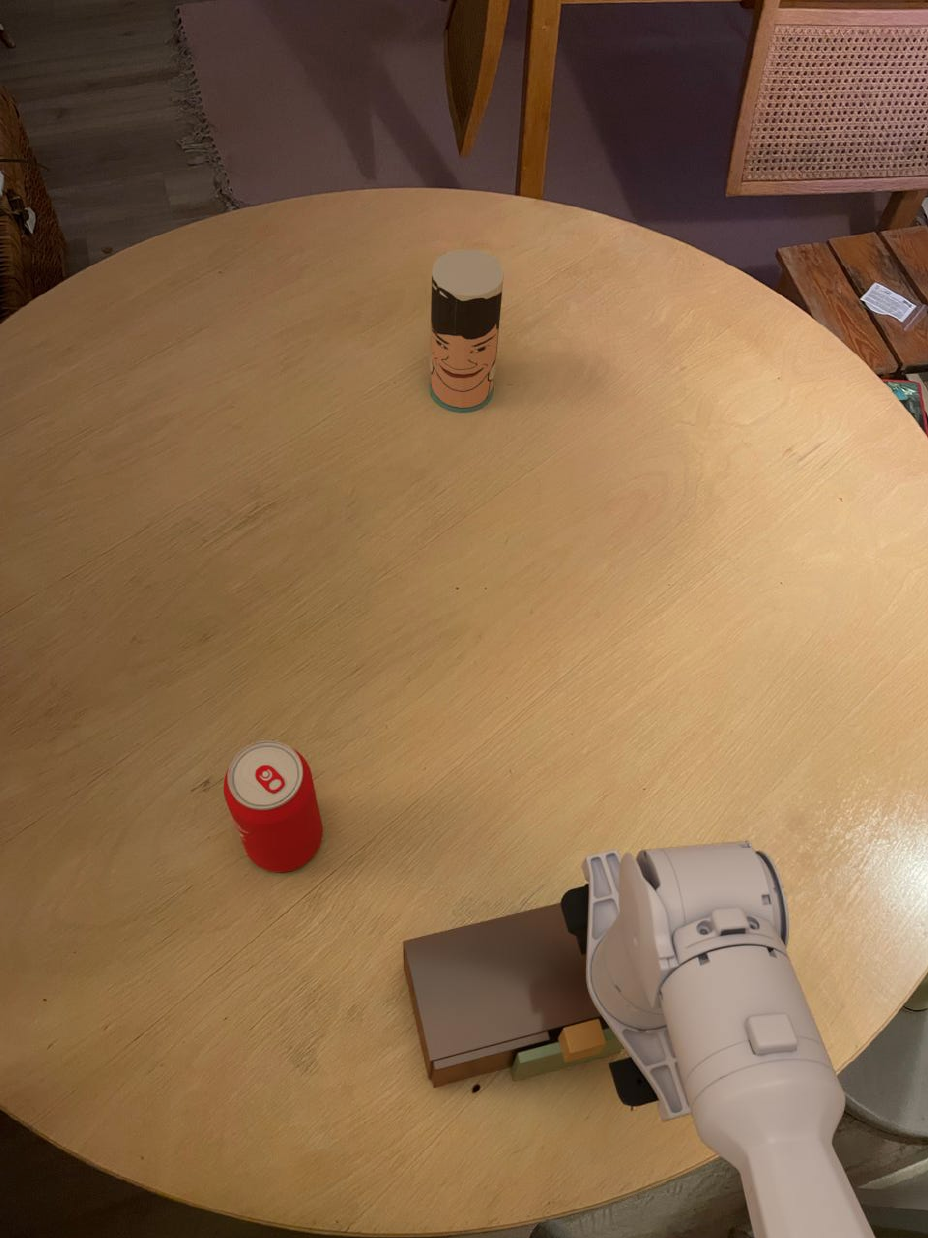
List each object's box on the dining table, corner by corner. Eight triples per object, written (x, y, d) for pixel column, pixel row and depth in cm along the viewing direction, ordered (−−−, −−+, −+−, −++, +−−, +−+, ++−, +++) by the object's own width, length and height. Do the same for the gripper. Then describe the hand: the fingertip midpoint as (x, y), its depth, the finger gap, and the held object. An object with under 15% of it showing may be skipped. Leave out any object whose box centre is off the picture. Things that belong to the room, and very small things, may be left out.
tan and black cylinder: (416, 392, 109) (417, 275, 97) (454, 358, 112) (460, 239, 100) (468, 422, 107) (475, 305, 95) (505, 385, 110) (517, 268, 98)
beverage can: (289, 785, 84) (272, 716, 74) (339, 838, 82) (329, 774, 72) (227, 836, 82) (201, 771, 72) (277, 892, 79) (257, 833, 69)
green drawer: (623, 1062, 73) (649, 1032, 65) (514, 1092, 72) (527, 1065, 64) (615, 1039, 74) (640, 1007, 66) (508, 1068, 73) (520, 1039, 65)
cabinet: (645, 1030, 75) (664, 1009, 69) (430, 1089, 72) (432, 1071, 67) (607, 915, 79) (622, 887, 74) (403, 966, 77) (402, 941, 71)
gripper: (783, 1083, 51) (714, 1111, 63) (681, 811, 58) (635, 881, 70) (650, 1122, 50) (604, 1143, 62) (561, 839, 57) (535, 906, 69)
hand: (613, 1006), depth 66 cm, fingers open, 7 cm apart
